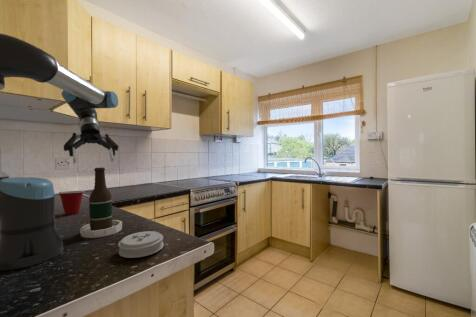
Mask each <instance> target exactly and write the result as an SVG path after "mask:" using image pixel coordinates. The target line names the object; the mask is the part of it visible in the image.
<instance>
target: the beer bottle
mask: <svg viewBox="0 0 476 317" xmlns="http://www.w3.org/2000/svg"><path fill="white" fill-rule="evenodd" d="M93 171H94V187H93V189H92V191H91V193H90V195H89V197H88V198H89V200H88V207H89V224H90V230H91V231H95V230H102V229H107V228H111V227H112V222H113V220H114V219H113V200H112V199H113V198H112V194H111V191H110V190H109V189H108V187H107V185H106V174H105V171H106V168H105V167H102V166H101V167H95V168H94V170H93Z"/></svg>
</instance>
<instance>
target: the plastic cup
mask: <svg viewBox="0 0 476 317" xmlns="http://www.w3.org/2000/svg"><path fill="white" fill-rule="evenodd" d="M84 192H85V190H68V191H67V190H65V191H58V194H59V197H60V200H61V204H62V205H61V206H62V208H63V212H64V215H65V216H73V215H79V213H80V208H81V205H82V204H81V203H82V199H83V195H84Z"/></svg>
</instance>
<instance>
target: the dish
mask: <svg viewBox="0 0 476 317" xmlns="http://www.w3.org/2000/svg"><path fill="white" fill-rule="evenodd" d="M112 220H113V222H112V227H111V228H107V229H102V230H95V231H91V230H90V223H88V224H85V225H83V226H81V227H80V229H79V233H80V237H82V238H84V239H97V238H103V237H108V236H112V235H116V234H117V233H119V232H121V231H122V230H123V221H122V220H119V219H112Z"/></svg>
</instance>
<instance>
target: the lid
mask: <svg viewBox="0 0 476 317" xmlns="http://www.w3.org/2000/svg"><path fill="white" fill-rule="evenodd" d="M163 239H164V235H163V234H161V233H160V232H158V231H155V230H154V231H153V230H151V231H150V230H149V231H147V230H146V231H139V232H135V233H134V232H133V233H131V234H129V235H126V236H125V237H123V238H122V239H121V240H120V241H119V242H118V244H117V245H118V248H119V250H118V255H119V256H120V257H121V258H122V257H123V258H128V259H130V258H131V259H132V258H142V257H147V256H150V255H153V254H155V253H158V252H159V251H160V250H162V249H163V247H164V242H163Z"/></svg>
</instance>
